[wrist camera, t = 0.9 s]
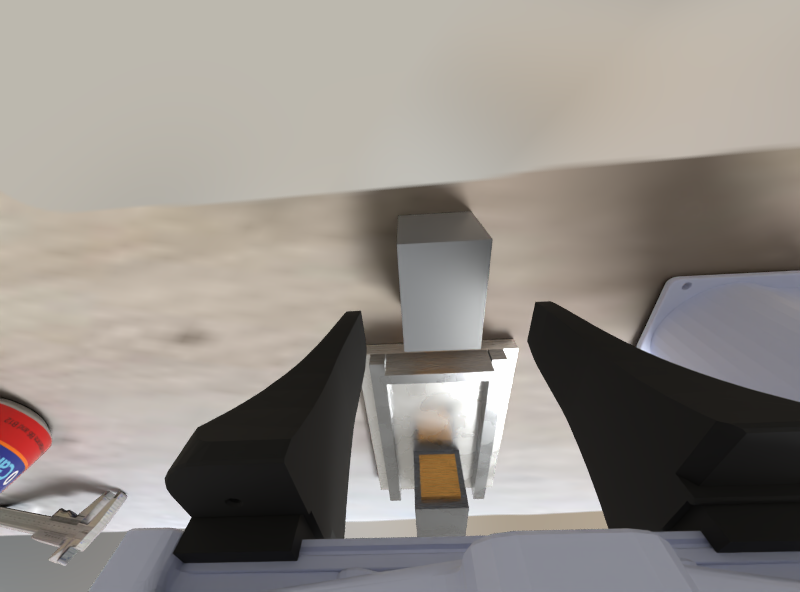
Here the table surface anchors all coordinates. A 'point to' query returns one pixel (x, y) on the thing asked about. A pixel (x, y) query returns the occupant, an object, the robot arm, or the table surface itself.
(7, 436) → the soda can
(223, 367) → the table surface
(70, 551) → the caliper
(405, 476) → the rail
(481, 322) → the block
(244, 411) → the robot arm
